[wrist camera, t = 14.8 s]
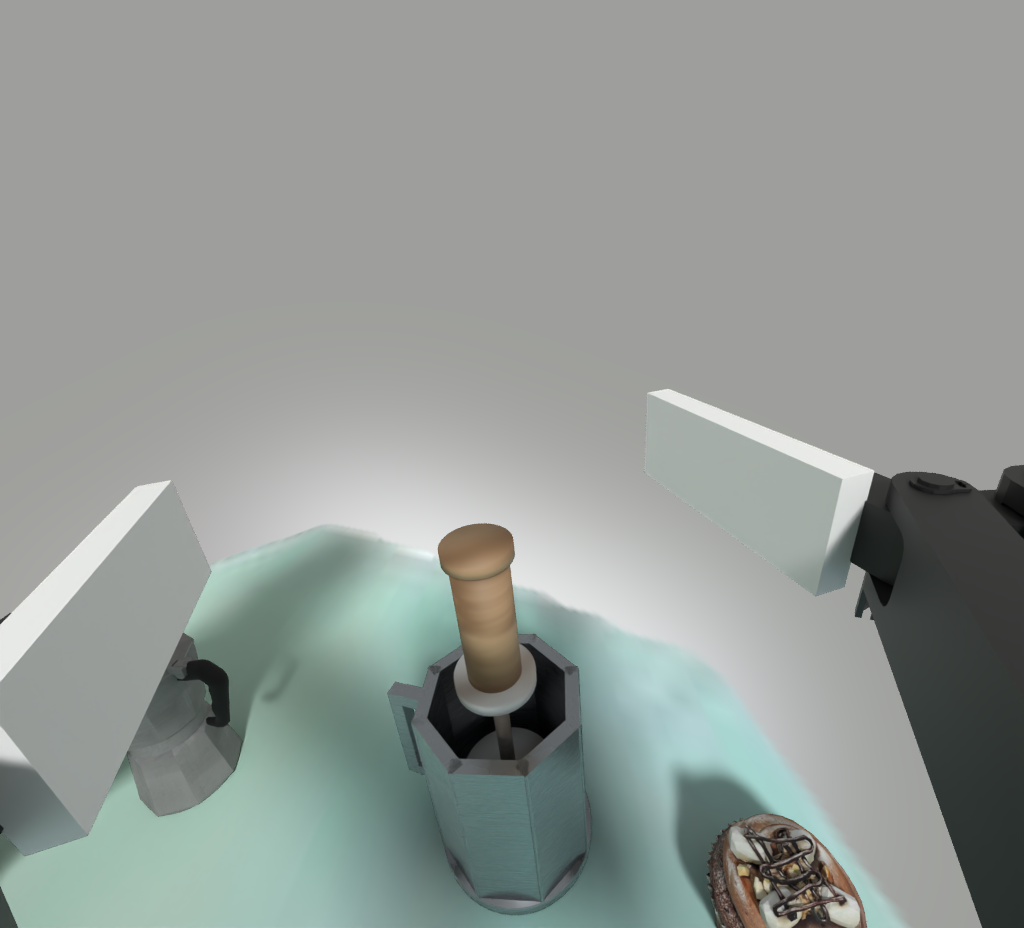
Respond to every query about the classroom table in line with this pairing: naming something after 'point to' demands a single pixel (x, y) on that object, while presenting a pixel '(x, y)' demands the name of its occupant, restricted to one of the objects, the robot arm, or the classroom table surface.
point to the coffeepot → (184, 735)
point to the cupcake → (779, 878)
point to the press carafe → (503, 784)
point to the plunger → (489, 637)
